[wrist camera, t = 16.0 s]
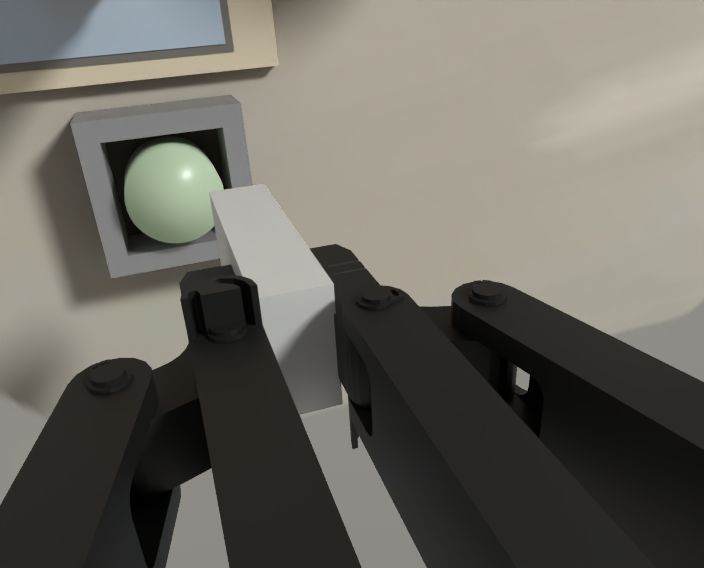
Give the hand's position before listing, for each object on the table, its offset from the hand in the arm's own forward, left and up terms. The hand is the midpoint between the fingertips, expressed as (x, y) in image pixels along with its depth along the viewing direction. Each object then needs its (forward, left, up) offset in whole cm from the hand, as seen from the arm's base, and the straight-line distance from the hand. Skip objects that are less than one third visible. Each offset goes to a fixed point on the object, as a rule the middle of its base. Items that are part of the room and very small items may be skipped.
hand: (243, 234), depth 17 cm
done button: (+1, -2, -10) cm, 10 cm away
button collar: (+1, -2, -10) cm, 10 cm away
